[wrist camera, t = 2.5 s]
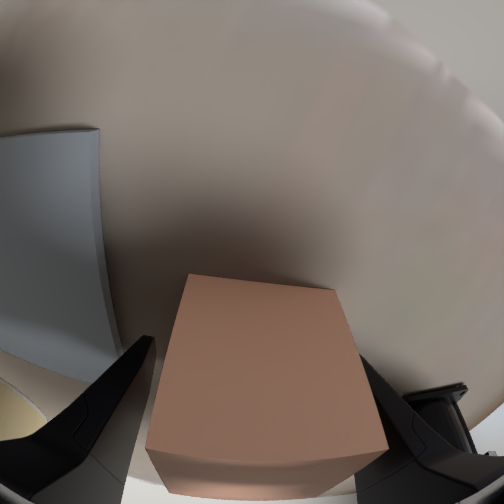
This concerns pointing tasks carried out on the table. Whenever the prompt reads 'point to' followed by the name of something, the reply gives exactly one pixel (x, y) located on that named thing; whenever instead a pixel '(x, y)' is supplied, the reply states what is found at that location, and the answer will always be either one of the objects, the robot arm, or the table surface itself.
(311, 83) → the table surface
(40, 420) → the coffee cup
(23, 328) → the slate mat
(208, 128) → the table surface
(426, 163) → the table surface
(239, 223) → the table surface
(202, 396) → the terracotta block
